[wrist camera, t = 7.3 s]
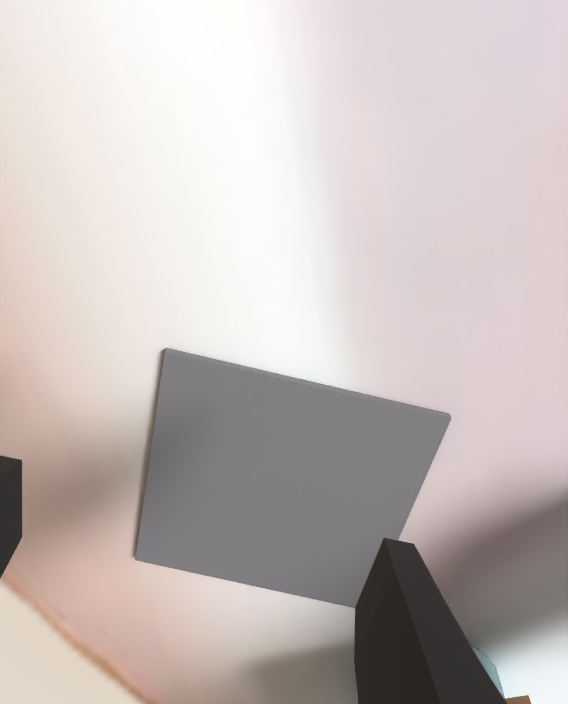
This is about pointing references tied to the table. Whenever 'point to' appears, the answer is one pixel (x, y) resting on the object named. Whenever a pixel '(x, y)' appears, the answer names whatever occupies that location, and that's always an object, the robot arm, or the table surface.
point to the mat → (278, 477)
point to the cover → (518, 700)
